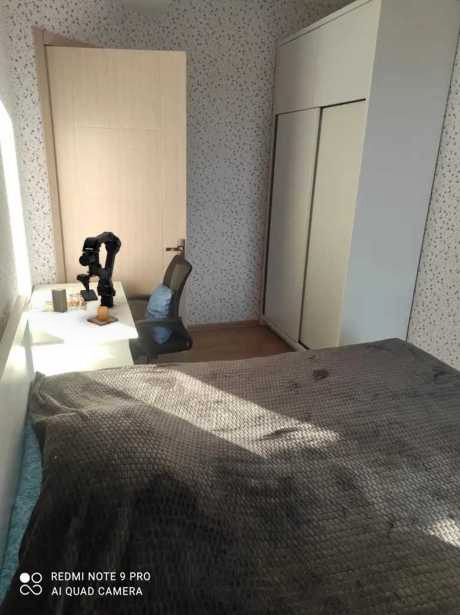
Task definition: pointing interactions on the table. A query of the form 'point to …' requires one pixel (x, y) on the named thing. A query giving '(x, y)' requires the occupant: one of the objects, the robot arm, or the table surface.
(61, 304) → the skincare box
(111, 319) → the walnut pad
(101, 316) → the orange cylinder
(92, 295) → the smart home device
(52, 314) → the table surface
